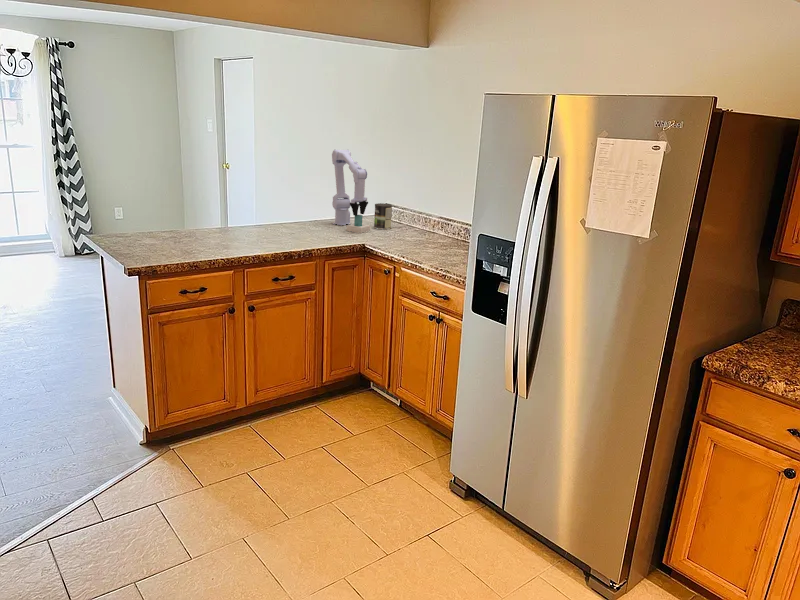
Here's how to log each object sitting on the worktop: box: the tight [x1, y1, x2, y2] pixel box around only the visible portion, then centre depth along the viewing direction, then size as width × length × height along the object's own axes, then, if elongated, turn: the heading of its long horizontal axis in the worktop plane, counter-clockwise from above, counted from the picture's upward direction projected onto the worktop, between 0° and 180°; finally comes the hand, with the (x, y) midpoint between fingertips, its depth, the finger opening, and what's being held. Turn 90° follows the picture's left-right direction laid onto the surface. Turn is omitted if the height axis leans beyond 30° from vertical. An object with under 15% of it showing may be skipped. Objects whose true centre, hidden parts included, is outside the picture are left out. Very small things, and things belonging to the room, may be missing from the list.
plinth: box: [345, 223, 371, 234], centre depth 352 cm, size 10×10×3 cm
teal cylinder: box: [353, 214, 364, 226], centre depth 351 cm, size 4×4×6 cm
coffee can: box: [373, 202, 393, 230], centre depth 363 cm, size 10×10×14 cm
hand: (358, 214), depth 350 cm, fingers open, 7 cm apart
